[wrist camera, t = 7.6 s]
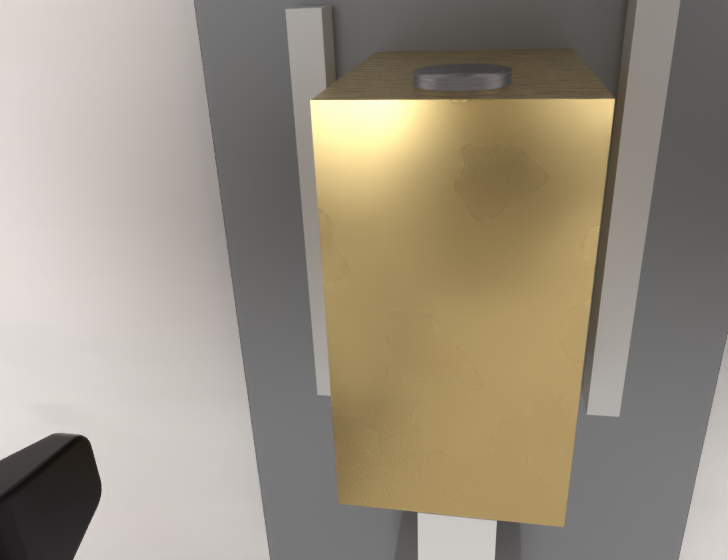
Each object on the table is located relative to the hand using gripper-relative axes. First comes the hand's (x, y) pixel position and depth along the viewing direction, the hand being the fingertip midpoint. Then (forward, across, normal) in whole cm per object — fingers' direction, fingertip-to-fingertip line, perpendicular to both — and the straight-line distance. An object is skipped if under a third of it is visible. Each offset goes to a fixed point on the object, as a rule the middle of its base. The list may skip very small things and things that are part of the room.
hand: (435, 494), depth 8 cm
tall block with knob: (+10, 0, 0) cm, 10 cm away
